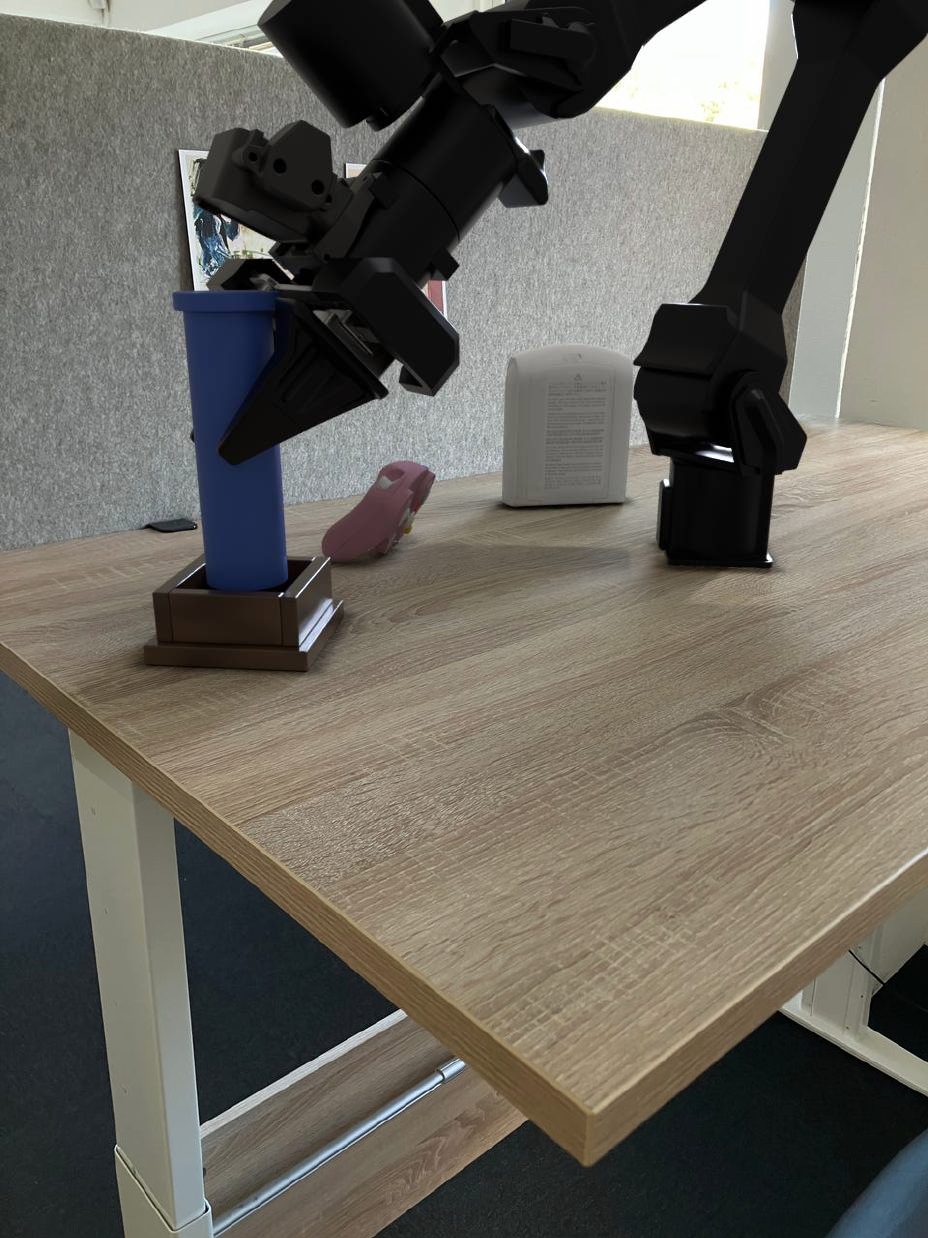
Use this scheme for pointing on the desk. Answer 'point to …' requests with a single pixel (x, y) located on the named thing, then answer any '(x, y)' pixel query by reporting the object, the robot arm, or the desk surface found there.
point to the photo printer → (566, 425)
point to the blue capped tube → (219, 382)
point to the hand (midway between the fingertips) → (210, 451)
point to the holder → (245, 620)
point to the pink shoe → (380, 512)
